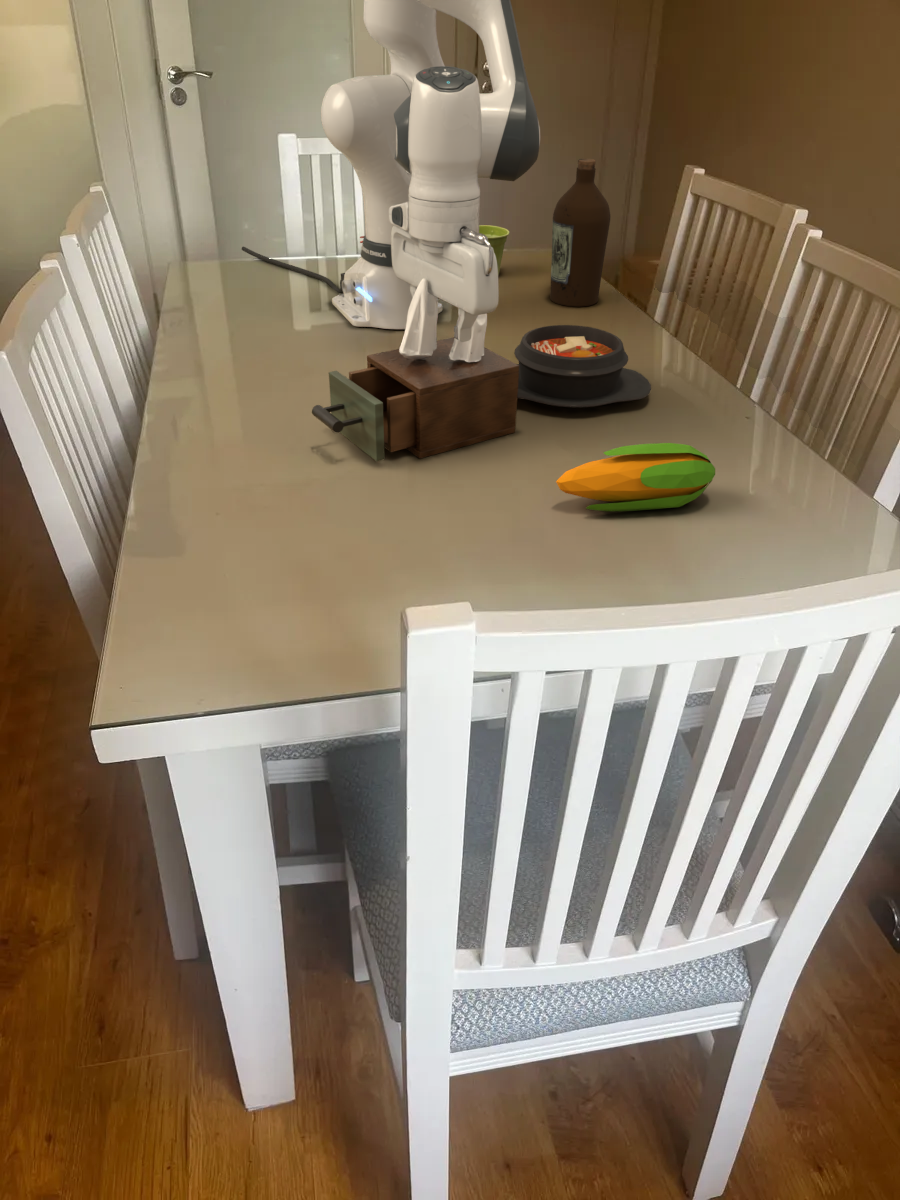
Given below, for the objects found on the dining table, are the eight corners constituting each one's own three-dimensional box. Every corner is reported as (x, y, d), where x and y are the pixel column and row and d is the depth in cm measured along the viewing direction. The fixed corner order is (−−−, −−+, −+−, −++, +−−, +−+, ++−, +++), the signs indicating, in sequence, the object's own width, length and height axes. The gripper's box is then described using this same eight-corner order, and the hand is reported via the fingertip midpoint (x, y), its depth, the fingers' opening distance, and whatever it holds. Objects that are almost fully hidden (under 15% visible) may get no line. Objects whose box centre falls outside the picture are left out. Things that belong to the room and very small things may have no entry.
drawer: (346, 469, 116) (343, 412, 112) (303, 433, 125) (298, 378, 120) (469, 436, 125) (471, 381, 120) (421, 404, 134) (421, 352, 129)
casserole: (486, 417, 133) (488, 361, 128) (485, 369, 148) (487, 318, 143) (658, 421, 132) (667, 365, 127) (640, 373, 147) (647, 322, 143)
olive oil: (583, 289, 184) (596, 153, 170) (611, 304, 176) (628, 163, 162) (537, 295, 181) (546, 156, 166) (563, 311, 173) (576, 167, 158)
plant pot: (512, 270, 194) (514, 227, 189) (499, 282, 187) (502, 238, 182) (470, 265, 197) (471, 223, 192) (456, 277, 189) (457, 233, 184)
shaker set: (399, 367, 121) (398, 283, 115) (396, 356, 125) (395, 273, 118) (488, 364, 123) (492, 280, 117) (483, 353, 126) (486, 271, 120)
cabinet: (419, 458, 121) (419, 389, 116) (369, 421, 131) (366, 355, 125) (515, 432, 129) (519, 365, 123) (460, 399, 138) (462, 335, 132)
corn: (732, 453, 107) (569, 465, 103) (722, 512, 111) (564, 525, 107) (705, 430, 113) (550, 441, 110) (696, 487, 117) (546, 499, 114)
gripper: (514, 234, 108) (508, 348, 116) (422, 200, 122) (422, 304, 130) (470, 241, 105) (466, 358, 113) (381, 206, 119) (384, 312, 127)
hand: (442, 329), depth 121 cm, fingers open, 8 cm apart
